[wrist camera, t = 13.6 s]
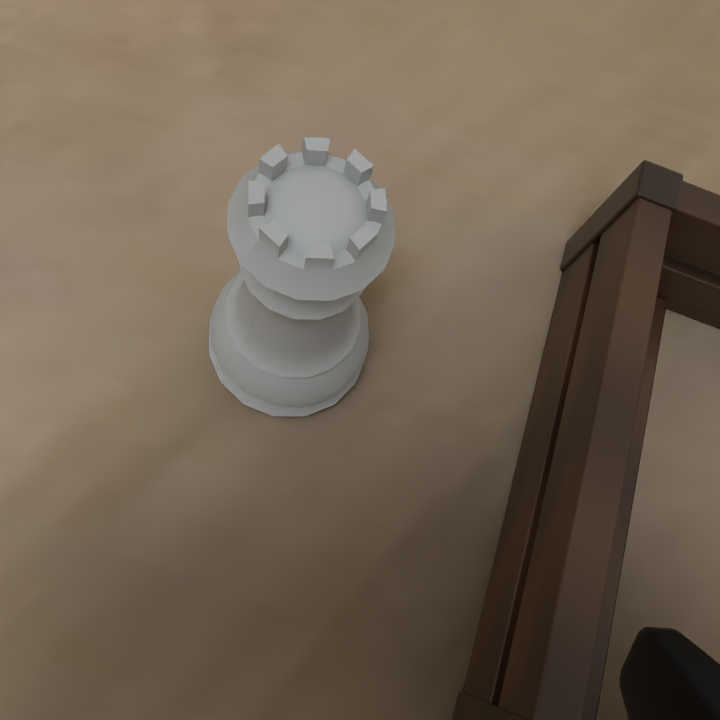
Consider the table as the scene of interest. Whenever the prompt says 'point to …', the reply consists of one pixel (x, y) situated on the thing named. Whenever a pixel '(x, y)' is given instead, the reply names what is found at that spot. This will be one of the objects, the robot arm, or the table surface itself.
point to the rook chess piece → (300, 279)
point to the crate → (588, 448)
